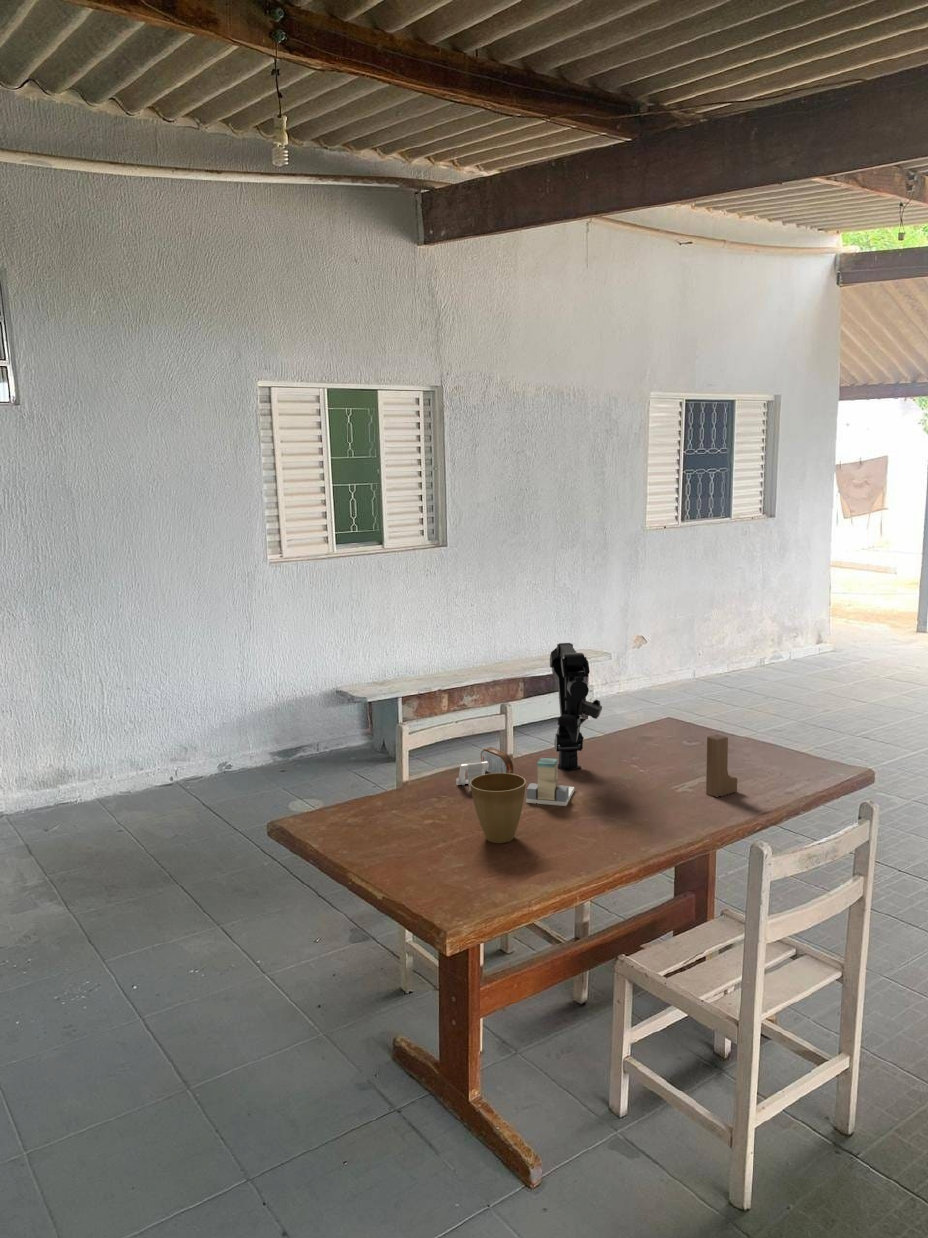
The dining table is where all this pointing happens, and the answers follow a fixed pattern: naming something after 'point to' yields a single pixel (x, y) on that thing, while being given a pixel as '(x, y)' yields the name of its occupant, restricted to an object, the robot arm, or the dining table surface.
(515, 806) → the plant pot
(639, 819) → the dining table surface
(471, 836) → the dining table surface
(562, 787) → the block holder base
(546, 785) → the peg
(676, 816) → the dining table surface
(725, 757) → the wooden block
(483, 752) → the tin
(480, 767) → the portable electronic device stand
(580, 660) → the robot arm
